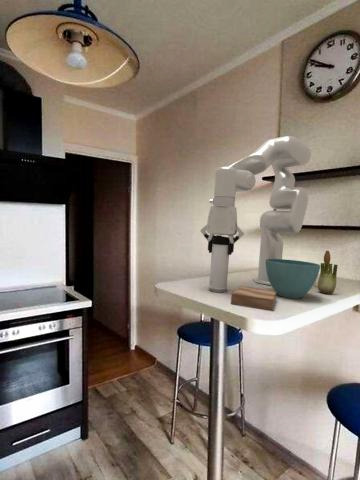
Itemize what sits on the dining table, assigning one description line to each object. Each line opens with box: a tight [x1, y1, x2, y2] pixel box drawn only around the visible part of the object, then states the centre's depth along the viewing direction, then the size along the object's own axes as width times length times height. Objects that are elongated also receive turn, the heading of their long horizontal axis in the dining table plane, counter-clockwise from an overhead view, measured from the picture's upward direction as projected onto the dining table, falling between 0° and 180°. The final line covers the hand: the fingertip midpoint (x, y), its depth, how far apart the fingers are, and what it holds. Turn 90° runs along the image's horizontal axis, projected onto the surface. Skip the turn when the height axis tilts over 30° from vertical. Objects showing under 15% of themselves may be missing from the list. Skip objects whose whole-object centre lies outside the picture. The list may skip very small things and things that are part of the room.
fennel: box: [314, 250, 337, 289], centre depth 125 cm, size 8×8×16 cm
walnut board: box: [230, 285, 277, 312], centre depth 90 cm, size 14×12×3 cm
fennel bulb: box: [317, 262, 339, 295], centre depth 111 cm, size 6×5×12 cm
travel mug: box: [208, 234, 230, 294], centre depth 103 cm, size 6×7×20 cm
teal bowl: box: [266, 258, 321, 299], centre depth 103 cm, size 18×18×12 cm
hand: (220, 253), depth 103 cm, fingers closed on travel mug, 6 cm apart
